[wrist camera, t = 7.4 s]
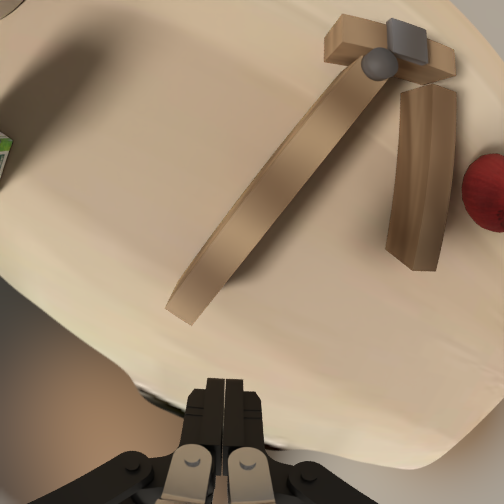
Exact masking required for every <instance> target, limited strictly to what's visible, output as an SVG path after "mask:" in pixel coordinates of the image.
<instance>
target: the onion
mask: <svg viewBox="0 0 504 504" xmlns="http://www.w3.org/2000/svg"><path fill="white" fill-rule="evenodd" d="M462 199H463V202H464V205H465V208H466V210H467V212H468V214H469V215H470V216H471V218H472V219H473V220H474V221H475V222H476V224H478V225H479V226H481V227H482V228H484V229H487V230H490V231H493V232H499V233H500V232H504V156H502V155H500V154H487V155H482V156H480V157H479V158H478V159H477V160H476V161H474V162H473V163H472V164H471V165H470V166H469V168H468V170H467V171H466V173H465V175H464V179H463V183H462Z"/></svg>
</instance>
